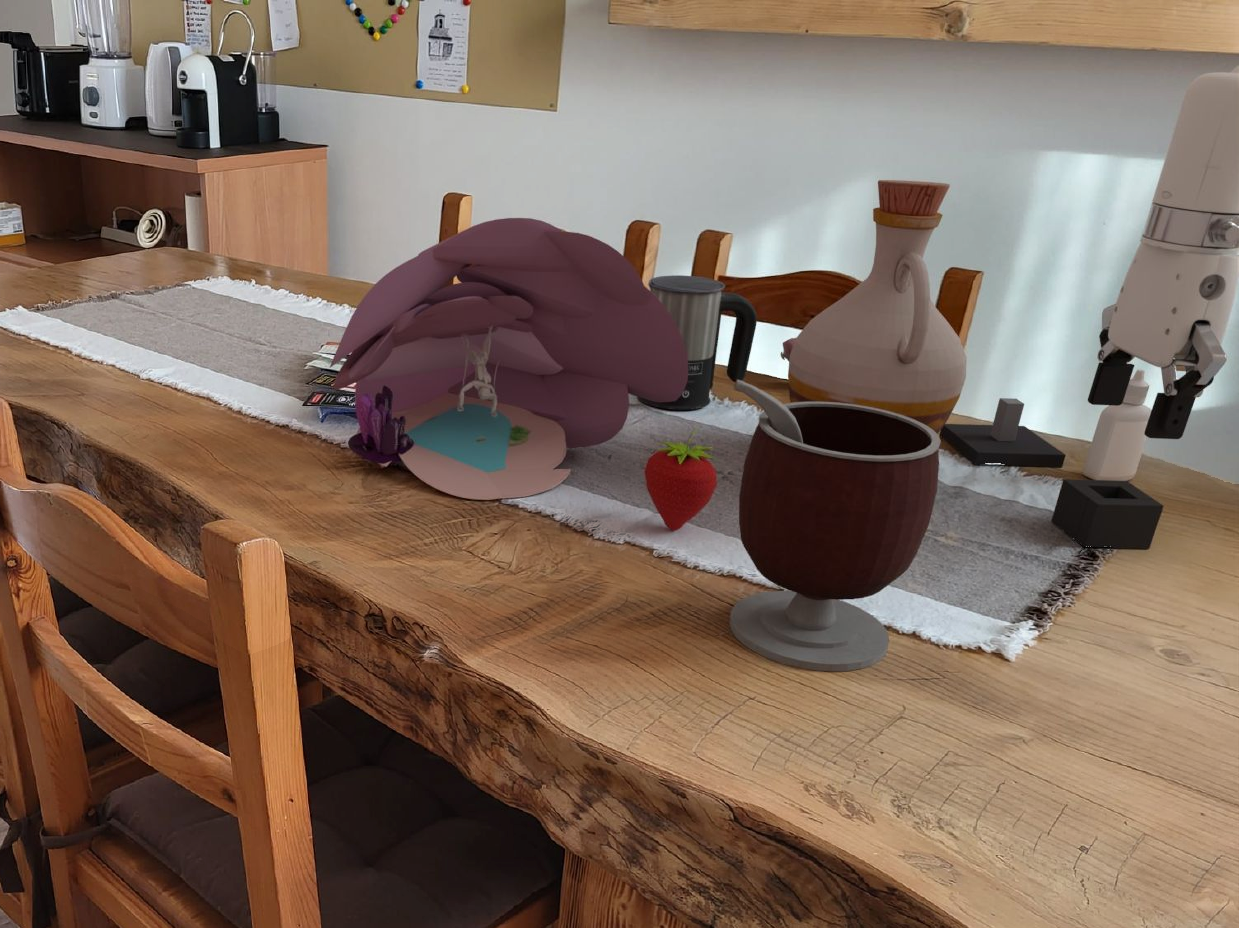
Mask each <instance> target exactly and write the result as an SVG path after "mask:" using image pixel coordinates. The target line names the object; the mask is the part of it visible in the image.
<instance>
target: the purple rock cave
mask: <svg viewBox="0 0 1239 928" xmlns="http://www.w3.org/2000/svg"><path fill="white" fill-rule="evenodd" d="M454 278H456V279H457V281H458V282H457V283H453V284H449V285H447V283H449V282H450V281H451V280H453V279H454ZM346 357H347V358H346ZM345 358H346V360H345V361H344V363H342V366H340V367H341V368H340V369H339V371H338V373H337V375H336V377H335V380H334V382H333V387H332V389H333V390H335V391H337V390H341V389H343V388H347V387H348V386H351V385H353V384H355V390H354V406H355V407H354V408H355V414H356V419H357V422H358V427H359V428H358V429H357V433H356V434H354V435H352V436H351V437H349V439H348V441H347V445H348V448H349V450H350V451H352V452H353V453H354V454H356V455H358V456H359V457H361V458H364V459H365V460H367V461H370V462H372V463H376V464H378V465H379V466H380V468H381V469H383V468H385V467H388V466H389V465H391V464H397V463H400V462H402V463H403V464H404V465H405V466H406V467H407V469H408V470H409V471H410V472H411V473H412V474H413V475H414V476H416V477H417V478H418V479H419V480H421V481H422V482H424V483H425V484H427V485H428V486H430V487H432V488H434V489H436V490H438V491H440V492H442V493H445V494H448V495H450V496H455V497H458V498H463V499H468V500H478V501H479V500H480V501H490V500H498V499H499V500H500V499H513V498H522V497H523V498H524V497H529V496H534V495H538V494H541V493H543V492H546V491H549V490H552V489H554V488H555V487H557V486H558V485H560V484H561V483H562V482H564V480H566V479H567V478H568V476H569V475H570V473H571V468H557V467H559V465H560V464H561V463H562V462H563V461H564V460H565V457H566V455H567V450H568V449H583V448H588V447H593V446H598V445H601V444H604V443H606V442H608V441H610V440H612V439H613V438H614V437H616V435H617V434H619V432H621V431H622V430H623V428H624V426H625V424H626V421H627V419H628V413H629V407H630V397H629V395H632V396H635V397H637V396H638V397H641V398H644V399H647V400H651V401H654V402H672V401H676V400H677V399H678V398H679V397H680V396H681V395H682V393H683V391H684V389H685V387H686V384H687V380H688V359H687V353H686V349H685V345H684V341H683V338H682V336H681V334H680V332H679V330H678V328H677V325H676V323H675V321H674V320H673V318H672V316H671V315H670V313H669V312H668V310H667V309H666V308H665V307H664V305H663V304H662V303H661V302H660V301H659V300H658V298H657V297H656V296H655V295H654V294H653V293H652V292H651V290H650V289H649V288H648V287H646V286H645V284H644V282H643V280H642V278H641V276H640V274H639V273H638V271H637V270H636V268H635V267H634V266H633V265H632V263H631V262H630V261H629V259H628V258H626V257H625V256H624V255H623V254H622V253H620V251H618V250H616V249H615V248H614V247H613V246H611V245H609V244H608V243H606V242H603V241H602V240H600V239H598V238H595V237H593V236H591V235H588V234H583V233H580V232H573V231H563V230H561V228H559V227H556V226H555V225H553V224H551V223H550V222H549V223H548V222H546V221H543V220H540V219H535V218H532V217H506V218H497V219H493V220H487V221H484V222H480V223H478V224H475V225H472V226H471V227H468V228H466V229H464V230H462V231H460V232H458V233H456V234H454V235H452V236H450V237H448V238H446V239H444V240H442V241H440V242H438V243H436V244H434V245H432V246H430V247H428V248H426V249H424V250H422V251H420V252H419V253H418V255H416V256H414V257H412V258H411V259H409V260H407V261H405V262H403V263H401V264H400V265H398V266H396V267H395V268H393V269H392V270H391V271H389V272H388V273H386V274H385V275H384V276H383V277H381V278H380V279H379V280H378V281H377V282H376V283H375V284H374V285H373V286H372V287H371V288H370V289H369V291H368V292H367V293H366V294H365V295H364V296H363V298H362V299H361V301H360V302H359V303H358V305H357V307H356V309H355V310H354V311H353V313H352V315H351V317H350V319H349V321H348V323H347V325H346V327H345V329H344V332H343V334H342V337H341V339H340V341H339V344H338V346H337V348H336V350H335V353H334V355H333V358H332V360H331V362H330V365H329V368H330V369H331V368H332V367H334V366H335V365H337V363H339V362H340V361H342V360H344V359H345Z"/></svg>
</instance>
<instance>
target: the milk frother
mask: <svg viewBox="0 0 1239 928" xmlns="http://www.w3.org/2000/svg"><path fill="white" fill-rule="evenodd" d="M647 285H648V287H649V290H650V291H651V292H652V293H653V294H654V295H655V296H656V297H657V298H658V300H659V301H660V302H661V303H662V304H663V305H664V307H665V308H666V309H667V310H668V312H669V313H670V315H671V316H672V318H673V320H674V321H675V323H676V325H677V328H678V330H679V332H680V334H681V336H682V338H683V341H684V345H685V349H686V353H687V359H688V380H687V384H686V387H685V389H684V391H683V393H682V395H681V396H680V397H679V398H678V399H677V400H676V401H672V402H654V401H651V400H647V399H644V398H641V397H638V396H636V398H637V400H639V401H640V402H642V404H643V403H644V404H646V405H648V406H652V407H655V408H659V409H666V410H672V411H673V410H678V411H682V410H683V411H688V410H696V409H697V410H698V409H702V408H705V407H707V406H708V405H709V404H710V403H711V398H710V389H713V385H714V378H715V369H716V360H717V352H718V345H719V338H720V337H719V336H720V327H721V320H722V312H733V313H734V315H735V325H734V329H733V334H732V340H731V344H730V350H729V355H728V362H727V367H726V375H727V377H728V378H729V380H730V381H732V382H734V383H736V380H741V381H744V379H745V377H746V374H747V369H748V364H749V361H750V357H751V353H752V348H753V343H754V338H755V333H756V328H757V322H758V316H757V311H756V310H755V308H754V305H752V303H751V302H750V301H749V300H748V299H747V298H745V297H744V296H743V295H740V294H738V293H734V292H725V291H723V290H724V289H725V287H726V284H724V283H723V282H722V281H719V280H716V279H713V278H709V277H703V276H695V275H682V274H681V275H679V274H678V275H673V274H672V275H660V276H656V277H652V278H650V279H649V280H648V284H647ZM722 291H723V292H722Z"/></svg>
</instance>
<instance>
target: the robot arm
mask: <svg viewBox="0 0 1239 928" xmlns="http://www.w3.org/2000/svg"><path fill="white" fill-rule="evenodd" d="M1162 165H1163V166H1162V169H1161V172H1160V175H1159V178H1158V181H1157V184H1156V188H1155V191H1154V194H1153V198H1152V200H1151V201H1152V202H1151V205H1150V208H1149V210H1148V213H1147V217H1146V221H1145V224H1144V226H1143V231H1142V234H1141V236H1140V240H1139V241H1140V243H1139V245H1138V247H1137V249H1136V252H1135V253H1134V256H1133V258H1132V259H1131V263H1130V264H1129V267H1128V270H1127V272H1126V274H1125V278H1124V279H1123V282H1122V285H1121V288H1120V291H1119V294H1118V296H1117V299H1116V302H1115V303H1114V304H1111V305H1108V306H1107V307H1105V308H1103V310H1102V314H1101V332H1099V335H1098V337H1099V344H1100V349H1099V350H1098V352H1097V357H1096V358H1097V361H1098V364H1097V368H1096V370H1095V375H1094V377H1093V380H1092V383H1091V387H1090V390H1089V392H1088V393H1089V394H1088V396H1087V403H1089V404H1090V405H1093V406H1109V405H1113V406H1119V405H1121V404H1122V403H1123V400H1124V397H1125V394H1126V391H1127V387H1128V384H1129V381H1130V379H1132V375H1133V371H1134V368H1135V364H1133V363H1131V362H1132V361H1133V359H1135V358H1137V359H1138V360H1141V361H1144V362H1145V363H1147V364H1149V365H1152V366H1153V367H1156V368H1160V370H1161V378H1162V379H1161V381H1162V386H1163V392H1157V393H1156V396H1155V399H1154V401H1153V405H1152V408H1151V410H1152V411H1151V414H1150V417H1149V420H1148V423H1147V426H1146V429H1145V432H1144V434H1145V436H1147V438H1149V439H1157V440H1159V439H1160V440H1180V439H1181V438H1182V437H1183V435H1184V433H1185V430H1186V427H1187V424H1188V421H1189V418H1190V415H1191V413H1192V410H1193V407H1194V404H1195V401H1196V398H1200V397H1201V396H1202V395H1203V393H1204V390H1205V389H1206V388H1207V387H1209V386H1210V385H1211V384H1212V383H1213V382H1214V380H1215V377H1216V375H1218V373H1219V371H1220V370H1221V369H1222V368H1223V367H1224V365H1225V364H1226V362H1227V359H1228V358H1227V357H1228V356H1227V354H1226V353H1225V350H1224V349H1223V347H1222V344H1223V341H1224V338H1225V334H1226V332H1227V328H1228V325H1229V321H1230V317H1231V313H1232V310H1233V306H1234V302H1235V298H1236V293H1237V288H1238V287H1237V286H1238V284H1239V64H1238V65H1237V66H1236V67H1234V68H1233V69H1232V70H1231V71H1230V72H1227V71H1226V72H1223V71H1222V72H1219V71H1218V72H1217V71H1215V72H1206V73H1203V74H1201V75H1198V76H1197V77H1195V79H1193V80H1192V81H1191V83H1189V85H1188V87H1187V89H1186V91H1185V93H1184V97H1183V100H1182V103H1181V105H1180V109H1179V113H1178V115H1177V119H1176V122H1175V126H1174V128H1173V132H1172V135H1171V139H1170V142H1169V145H1168V149H1167V152H1166V155H1165V159H1164V162H1163V164H1162ZM1178 372H1185V374H1183V375H1182V376H1181V377H1178Z"/></svg>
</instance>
